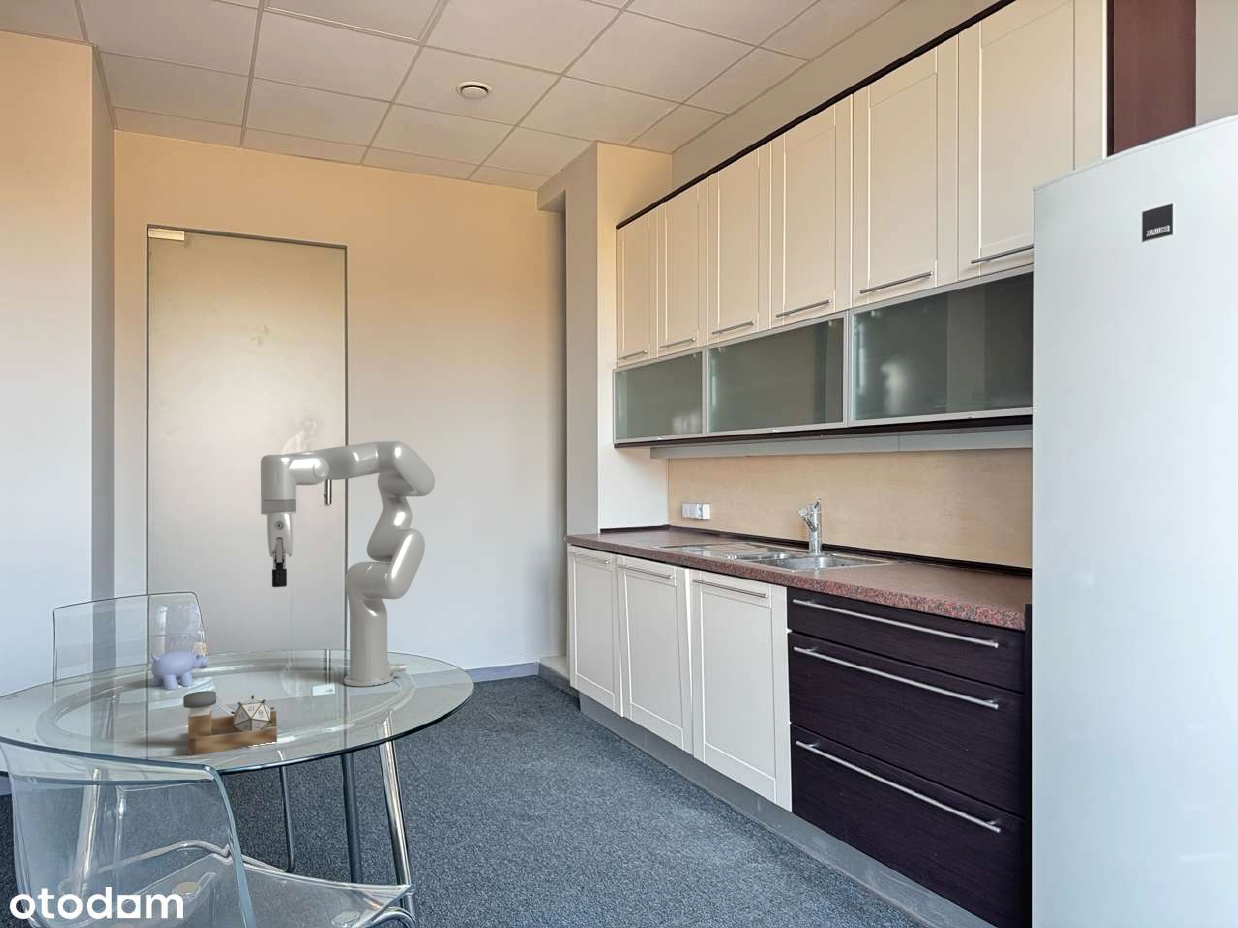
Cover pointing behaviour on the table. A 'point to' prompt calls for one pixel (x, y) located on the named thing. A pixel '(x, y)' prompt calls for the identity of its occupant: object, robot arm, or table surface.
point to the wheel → (199, 702)
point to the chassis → (206, 726)
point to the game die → (251, 715)
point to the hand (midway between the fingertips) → (279, 586)
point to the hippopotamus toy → (176, 669)
